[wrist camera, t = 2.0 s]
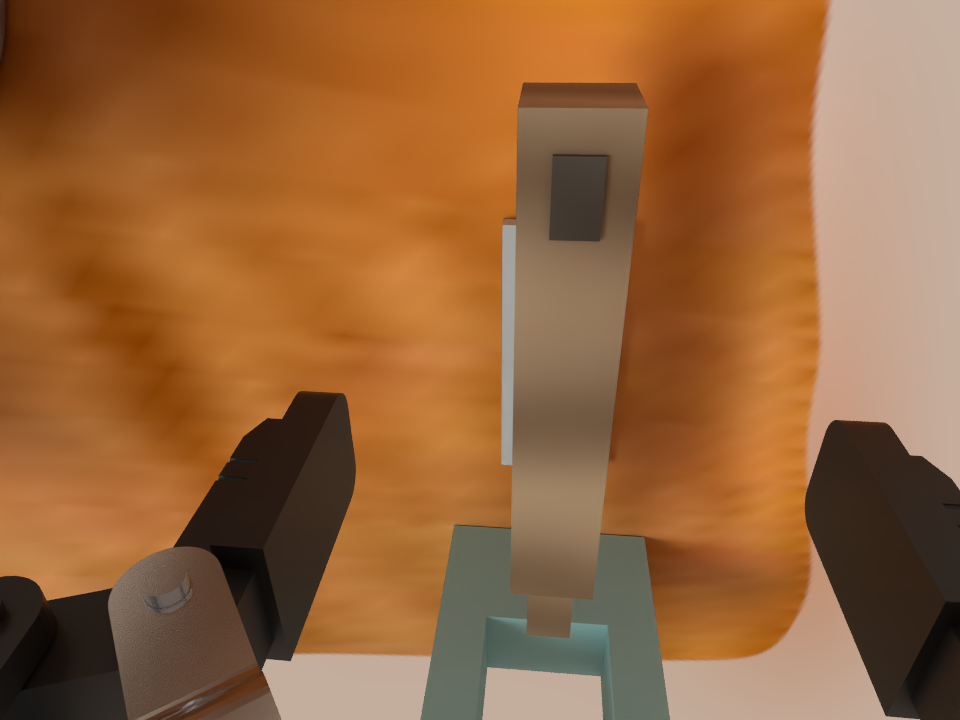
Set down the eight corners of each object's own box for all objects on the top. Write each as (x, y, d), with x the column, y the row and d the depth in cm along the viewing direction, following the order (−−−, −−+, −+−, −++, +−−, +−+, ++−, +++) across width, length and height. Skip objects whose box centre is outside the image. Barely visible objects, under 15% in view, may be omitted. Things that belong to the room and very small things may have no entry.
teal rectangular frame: (454, 525, 33) (405, 808, 22) (644, 537, 32) (686, 837, 22) (456, 574, 35) (412, 857, 24) (636, 586, 34) (671, 885, 23)
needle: (523, 82, 17) (517, 109, 15) (636, 83, 17) (649, 110, 15) (513, 585, 27) (509, 651, 25) (584, 590, 27) (586, 657, 25)
